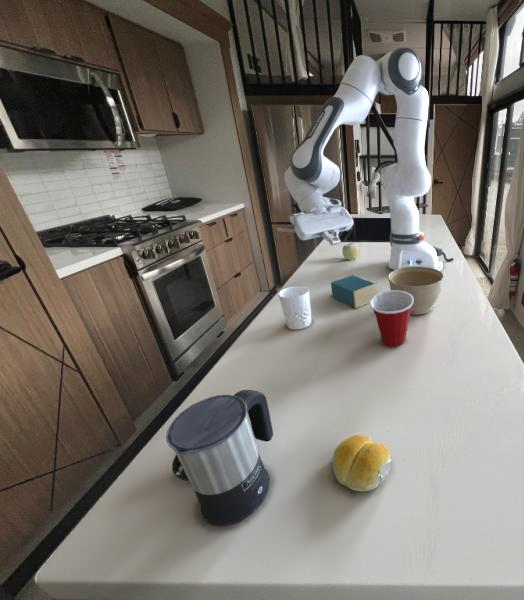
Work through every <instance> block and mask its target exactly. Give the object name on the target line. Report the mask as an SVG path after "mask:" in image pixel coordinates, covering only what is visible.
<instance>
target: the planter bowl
mask: <svg viewBox="0 0 524 600" xmlns="http://www.w3.org/2000/svg"><path fill="white" fill-rule="evenodd" d="M387 280H388V282H389V289H390V291H392V290H399V291H405V292H407V293H409V294H411V295H412V296H413V298H414V303H413V305H412V307H411V311H410V315H413V316H417V315H424V314H427V313H429V312H431V310H432V309H433V306H434V305H435V303H436V302H437V301H438V299H439V297H440V295H441V292H442V288H443V282H444V273H443V272H442V270H440V271H439V270H437V269H434V268H430V267H423V266H411V267H404V268H400V269H397V270H392V271H391V272H390V273H389V274H388V279H387Z"/></svg>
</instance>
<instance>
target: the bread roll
mask: <svg viewBox="0 0 524 600" xmlns="http://www.w3.org/2000/svg"><path fill="white" fill-rule="evenodd" d="M391 458H392V455H391V452H390V451H389V449H388V448H387V447H386V446H385V445H384V444H383V443H378V442H373V441H372V439H371V438H370V437H369V436H367V435H363V434H355V435H351V436H350V437H347V438H345V439H344V440H343V441H342V442H340V443H339V445H338V446H336V449H335V451H334V452H333V457H332V470H333V473H334V477H335V478H336V480H337V482H338V483H340V484H341V485H343V486H345V487H347V488H348V489H350V490H351V491H355V492H370V491H372V490H374V489H376V488H378V487H379V485H380V484H381V483H382V482H383V481H384V480H385V478H386V477H387V475H388V474H389V472H390V470H391V468H392V459H391Z"/></svg>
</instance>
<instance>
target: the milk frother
mask: <svg viewBox="0 0 524 600" xmlns="http://www.w3.org/2000/svg"><path fill="white" fill-rule="evenodd" d="M267 399H268V398H267V397H266V395H265V394H264V393H263V392H261V391H258V390H254V389H242V390H239V391H237V392H235V393H234V394H218V395H213V396H210V397H207V398H204V399H202V400H199V401H197V402H194V403H193V404H191V405H190V406H188V407H187V408H185V409H183V411H181V412H180V413H179V414H178V415H177V416H176V417H175V418H174V419H173V420H172V421H171V422H170V424H169V426H168V428H167V430H166V434H165V435H166V436H165V441H166V443H167V445H168V447H169V448H171V449H172V450H173V451H174V452H175V456H174V458H173V460H172V465H171V467H172V468H171V469H172V473H173V475H174V476H175V477H176V478H178V479H179V480H182V481H188V482H189V483H190V485H191V488H192V490H193V492H194V493H195V496H196V498H197V500H198V503H199V506H200V508H199V509H200V513H201V516H202V518H203V519H204V521H205V522H207V523H208V524H210V525H213V526H217V527H225V526H230V525H233V524H236V523H239V522H240V521H241V522H242V520H244V519H246V518H247V517H249V516H250V515H252V513H254V512H255V511H256V510H257V509H258V508H259V507H260V506H261V504H262V503H263V501H264V500H265V498H266V496H267V494H268V492H269V489H270V484H271V483H270V482H271V481H270V475H269V472H268V470H267V469H266V468H265V465H264V463H263V460H262V457H261V454H260V453H259V448H258V446H257V442H256V440H259V441H262V442H266V443H267V442H271V440H272V438H273V436H274V431H273V425H272V420H271V415H270V410H269V404H268V400H267ZM248 418H249V419H248ZM249 421H250V422H249Z"/></svg>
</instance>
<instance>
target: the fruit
mask: <svg viewBox="0 0 524 600" xmlns="http://www.w3.org/2000/svg"><path fill="white" fill-rule="evenodd" d="M341 251H342V256H343V257H344V258H345V259H346V260H355V259H357V258H359V255H360V247H359V245H358V244H356V243H354V242H349V243H346V244H344V245H343V247H342V250H341Z"/></svg>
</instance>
